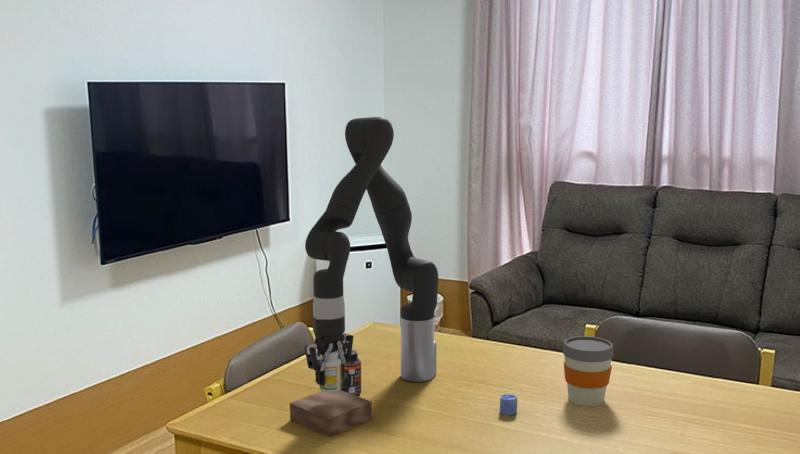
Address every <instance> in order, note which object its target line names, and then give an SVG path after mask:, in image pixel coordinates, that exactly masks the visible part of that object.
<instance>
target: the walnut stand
mask: <svg viewBox="0 0 800 454" xmlns="http://www.w3.org/2000/svg"><path fill="white" fill-rule="evenodd" d="M370 419H371V420H373V401H372V400H368V399H366V398H363V397H360V396H359V395H356V396H355V395H353V394H350V393H347V392H345V391H342V390H339V391H337V392H332V393H327V392H323V391H321V390H320V391H318V392H316V393H313V394H310V395H308V396H304V397H302V398H299V399H297V400H294V401H292V402H289V421H291V422H293V423H295V424H297V425H300V426H301V427H304V428H306V429H308V430H311V431H314V432H316V433H318V434H321V435H323V436H325V437H328V438H331V437H333V436H336V435H338V434H341V433H342V432H345V431H347V429H348V430H350V429H352V428H355V427H356V425H357V426H359V425H361V423H362V424H364V423H366V422H369V421H370ZM368 420H369V421H368ZM363 422H364V423H363ZM354 426H355V427H354ZM349 428H350V429H349Z"/></svg>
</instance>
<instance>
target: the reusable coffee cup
mask: <svg viewBox="0 0 800 454" xmlns="http://www.w3.org/2000/svg"><path fill="white" fill-rule="evenodd" d="M562 354H563V356H564V361H563V370H564V371H563V372H564V380H565V382H566V387H567V397H568V400H569V401H570V402H571V403H573V404H575V405H579V406H583V407H584V406H585V407H596V406H599V405H602V404H604V402H605V397H606V392H607V387H608V385H609V383H610V378H611V375H612V374H611V372H612V369H613V366H612V364H611V363H612V359H613V358H614V345H613V343H612V342H611V341H610V340H607V339H604V338H602V337H597V336H590V335H589V336H587V335H586V336H583V335H581V336H579V335H578V336H573V337H569V338H566V339H565V340H564V342H563V349H562Z"/></svg>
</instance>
